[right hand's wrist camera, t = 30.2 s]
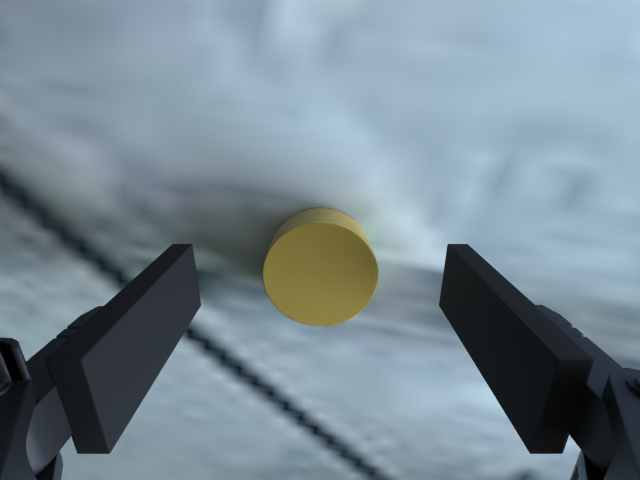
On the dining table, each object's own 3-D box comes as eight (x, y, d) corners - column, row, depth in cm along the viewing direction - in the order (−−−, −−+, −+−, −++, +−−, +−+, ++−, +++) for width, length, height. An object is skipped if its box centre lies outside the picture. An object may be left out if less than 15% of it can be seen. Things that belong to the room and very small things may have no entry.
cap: (387, 274, 16) (397, 297, 14) (301, 315, 16) (299, 342, 14) (341, 188, 14) (345, 200, 12) (250, 237, 15) (239, 256, 13)
